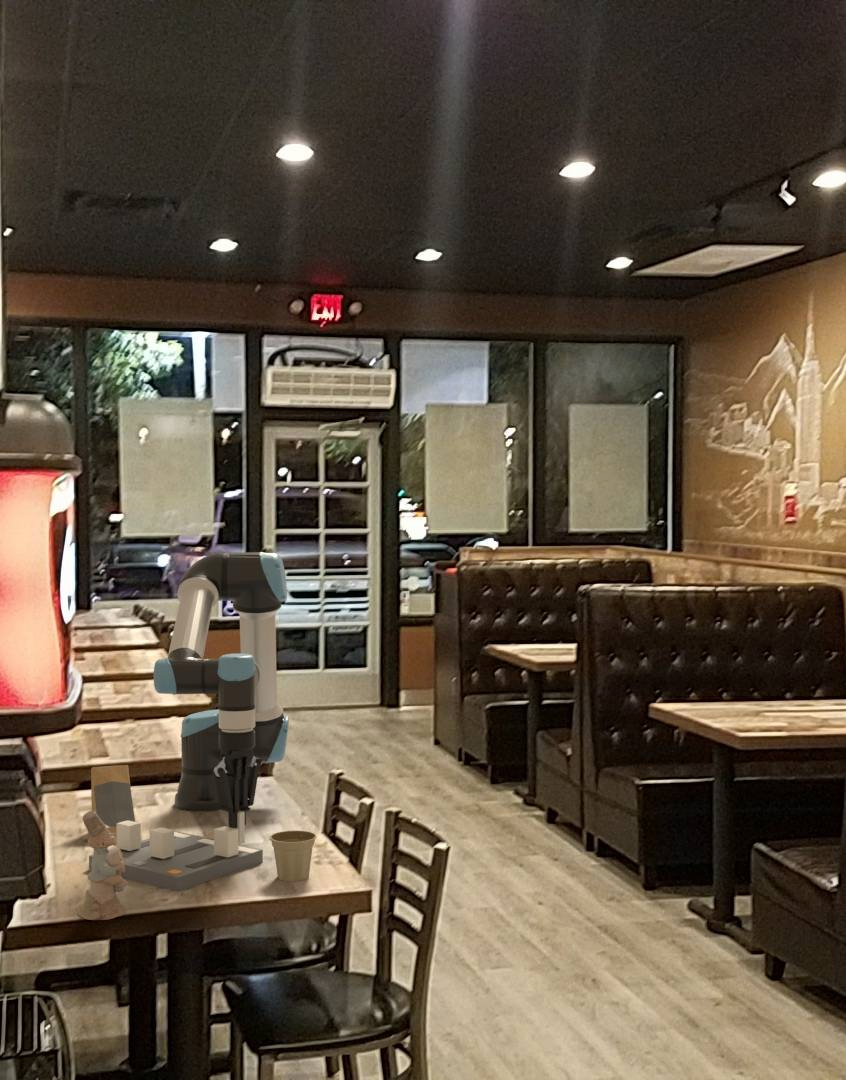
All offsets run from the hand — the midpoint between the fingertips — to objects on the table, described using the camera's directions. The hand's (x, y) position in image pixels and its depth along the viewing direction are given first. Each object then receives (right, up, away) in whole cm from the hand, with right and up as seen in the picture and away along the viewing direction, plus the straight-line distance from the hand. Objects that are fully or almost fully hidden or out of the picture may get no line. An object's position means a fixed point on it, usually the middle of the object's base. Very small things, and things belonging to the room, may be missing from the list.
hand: (237, 842), depth 261 cm
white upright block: (-2, -2, -3) cm, 4 cm away
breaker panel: (-13, -5, 0) cm, 14 cm away
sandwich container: (-31, -5, +23) cm, 39 cm away
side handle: (-23, -2, +2) cm, 23 cm away
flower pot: (+12, -6, -8) cm, 16 cm away
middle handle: (-15, -2, -3) cm, 15 cm away
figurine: (-20, -6, -31) cm, 37 cm away
